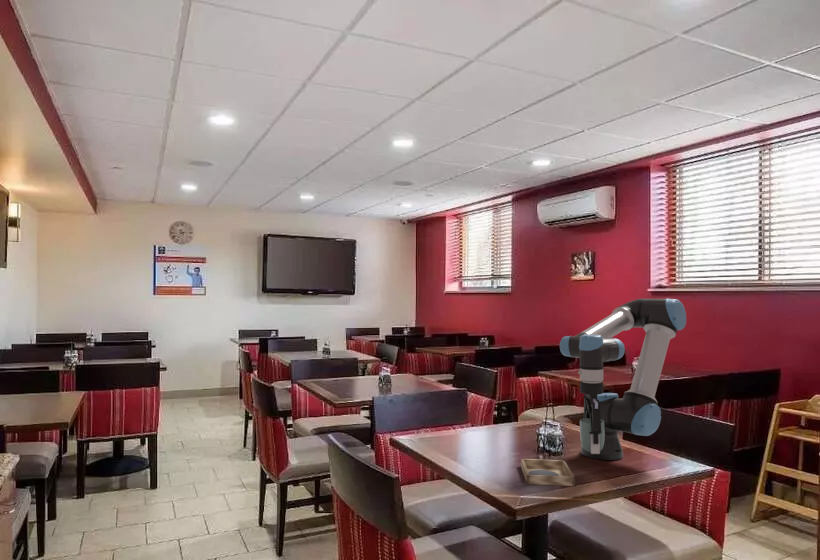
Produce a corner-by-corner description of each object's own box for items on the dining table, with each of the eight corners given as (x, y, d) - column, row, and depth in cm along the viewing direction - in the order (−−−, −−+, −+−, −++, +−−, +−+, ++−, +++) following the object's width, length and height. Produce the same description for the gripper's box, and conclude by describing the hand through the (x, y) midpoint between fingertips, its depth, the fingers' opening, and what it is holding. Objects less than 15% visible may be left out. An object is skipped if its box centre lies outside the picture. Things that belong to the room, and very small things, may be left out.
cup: (599, 447, 195) (599, 417, 196) (608, 453, 188) (607, 423, 188) (577, 447, 195) (576, 418, 195) (584, 454, 188) (584, 423, 188)
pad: (556, 471, 194) (556, 470, 194) (561, 480, 184) (561, 479, 184) (526, 470, 195) (526, 469, 195) (529, 479, 185) (529, 478, 185)
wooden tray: (564, 469, 198) (564, 460, 198) (574, 487, 179) (575, 477, 179) (520, 467, 199) (520, 458, 199) (526, 485, 181) (526, 475, 181)
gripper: (574, 376, 202) (574, 441, 202) (586, 386, 182) (587, 458, 182) (595, 376, 202) (596, 441, 201) (610, 386, 181) (611, 459, 181)
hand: (592, 449), depth 191 cm, fingers closed on cup, 8 cm apart
